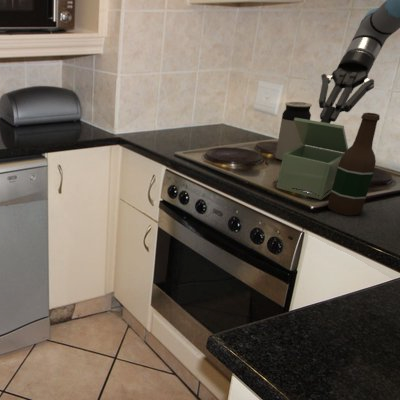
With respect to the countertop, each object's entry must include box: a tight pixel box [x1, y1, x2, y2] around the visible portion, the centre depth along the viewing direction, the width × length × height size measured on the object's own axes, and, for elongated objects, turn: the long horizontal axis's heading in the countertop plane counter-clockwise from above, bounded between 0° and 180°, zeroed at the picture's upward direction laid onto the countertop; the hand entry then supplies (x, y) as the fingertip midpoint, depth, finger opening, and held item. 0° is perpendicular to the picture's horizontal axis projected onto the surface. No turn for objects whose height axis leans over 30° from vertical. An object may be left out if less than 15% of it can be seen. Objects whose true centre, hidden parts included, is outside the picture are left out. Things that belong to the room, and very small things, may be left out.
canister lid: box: [294, 118, 349, 153], centre depth 127 cm, size 14×12×1 cm
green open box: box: [275, 145, 344, 201], centre depth 130 cm, size 14×12×10 cm
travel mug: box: [275, 101, 313, 161], centre depth 153 cm, size 8×8×18 cm
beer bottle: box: [327, 112, 381, 217], centre depth 114 cm, size 8×8×24 cm
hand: (321, 129), depth 126 cm, fingers closed
